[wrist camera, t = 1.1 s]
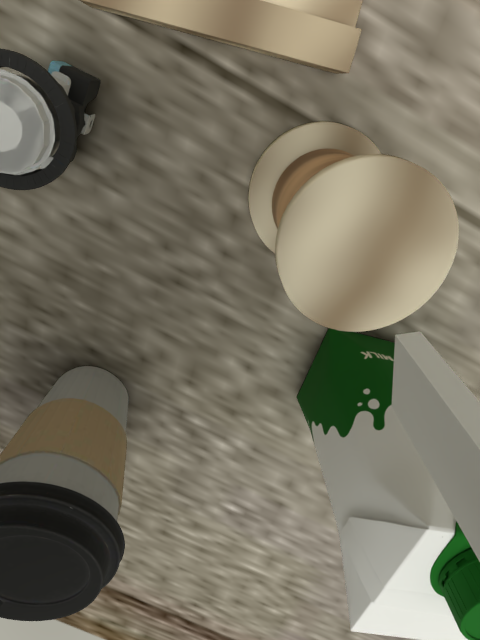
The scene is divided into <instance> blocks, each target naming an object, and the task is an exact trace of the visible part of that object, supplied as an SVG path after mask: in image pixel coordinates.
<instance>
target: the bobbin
mask: <svg viewBox="0 0 480 640" xmlns="http://www.w3.org/2000/svg"><path fill="white" fill-rule="evenodd" d="M248 202H249V210H250V214H251V218H252V222H253V224H254V227H255V230H256V231H257V233H258V235H259V237H260V238H261V240H262V241H263V242H264V244H265V245H266V246H267V247H268V248H269V249H270V250H271V251H272V252H274V253H275V258H276V265H277V270H278V273H279V276H280V279H281V282H282V284H283V287H284V290H285V292H286V293H287V295H288V297H289V299H290V300H291V301H292V303H293V304H294V305H295V307H296V308H297V309H298V310H299V311H300V312H301V313H302V314H304V315H305V316H306V317H308V318H309V319H310V320H312V321H314V322H316V323H318V324H319V325H322V326H325V327H327V328H331V329H335V330H339V331H347V332H362V331H370V330H375V329H379V328H383V327H386V326H388V325H391V324H394V323H396V322H398V321H400V320H402V319H404V318H406V317H407V316H409V315H411V314H412V313H413V312H415V311H416V310H417V309H419V308H420V307H421V306H423V305H424V304H425V303H426V302H427V301H428V300H429V299H430V298H431V297H432V296H433V295H434V293H435V292H436V291H437V290H438V289H439V287H440V286H441V284H442V283H443V281H444V280H445V278H446V276H447V274H448V272H449V271H450V268H451V266H452V263H453V261H454V258H455V254H456V251H457V246H458V238H459V224H458V217H457V212H456V209H455V206H454V203H453V201H452V199H451V197H450V195H449V193H448V191H447V190H446V189H445V187H444V186H443V184H442V183H441V182H440V181H439V180H438V179H437V178H436V177H435V176H434V175H432V174H431V173H430V172H428V171H427V170H426V169H424V168H422V167H420V166H418V165H416V164H414V163H412V162H409V161H407V160H404V159H401V158H398V157H395V156H390V155H384V154H381V153H380V151H379V150H378V148H377V147H376V146H375V144H374V143H373V142H372V141H371V140H370V139H369V138H368V137H366V136H365V135H364V134H362V133H361V132H359V131H357V130H355V129H353V128H351V127H348V126H345V125H342V124H339V123H334V122H324V121H319V122H310V123H307V124H303V125H300V126H297V127H295V128H292V129H290V130H289V131H287V132H285V133H283V134H282V135H281V136H279V137H278V138H277V139H276V140H274V141H273V142H272V143H271V144H270V145H269V146H268V147H267V149H266V150H265V151H264V153H263V154H262V155H261V157H260V159H259V160H258V162H257V164H256V166H255V168H254V171H253V173H252V177H251V180H250V185H249V194H248Z"/></svg>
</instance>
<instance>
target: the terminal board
mask: <svg viewBox="0 0 480 640" xmlns="http://www.w3.org/2000/svg"><path fill="white" fill-rule="evenodd" d="M80 1H81V2H83V3H85V4H86V5H88V6H90V7H92V8H96V9H100V10H104V11H107V12H111V13H115V14H118V15H122V16H126V17H129V18H133V19H137V20H140V21H144V22H148V23H151V24H155V25H159V26H163V27H166V28H170V29H174V30H177V31H181V32H185V33H188V34H192V35H196V36H199V37H203V38H207V39H210V40H214V41H218V42H221V43H225V44H229V45H233V46H236V47H240V48H244V49H247V50H251V51H255V52H258V53H262V54H266V55H269V56H273V57H277V58H280V59H284V60H288V61H292V62H295V63H299V64H303V65H306V66H310V67H314V68H317V69H321V70H325V71H328V72H332V73H336V74H339V73H349V71H350V67H351V64H352V61H353V57H354V54H355V51H356V47H357V44H358V40H359V37H360V34H361V30H362V29H359V28H355V26H356V22H357V19H358V15H359V12H360V9H361V5H362V2H363V0H80Z"/></svg>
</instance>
